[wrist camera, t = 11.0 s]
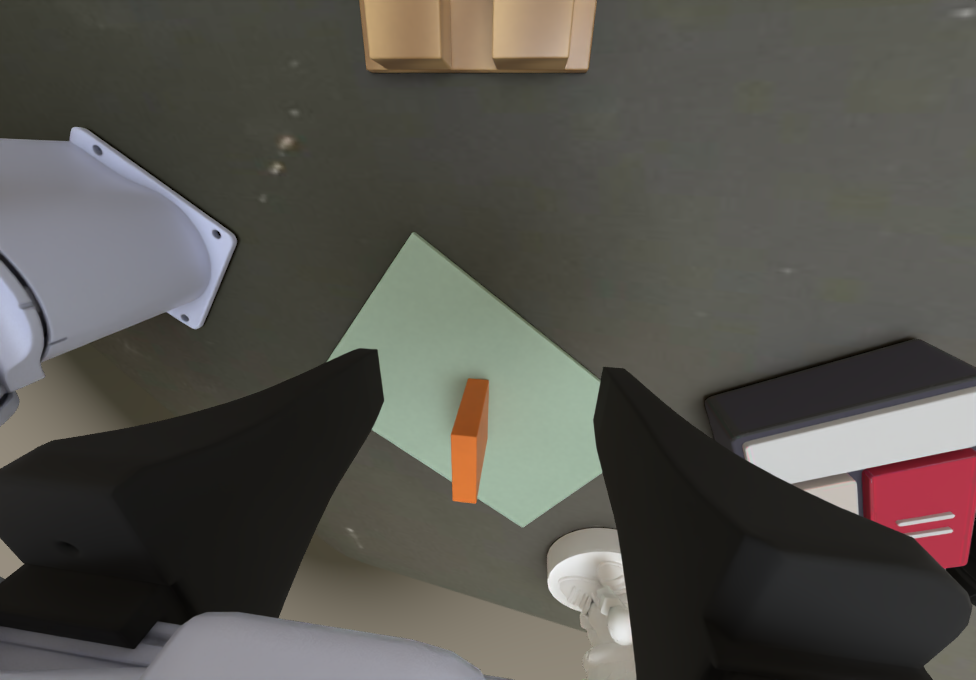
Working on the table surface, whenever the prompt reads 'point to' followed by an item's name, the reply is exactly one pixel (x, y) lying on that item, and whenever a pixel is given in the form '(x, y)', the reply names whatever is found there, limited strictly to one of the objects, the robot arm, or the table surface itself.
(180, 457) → the robot arm
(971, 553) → the tape measure
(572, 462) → the mat
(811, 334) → the table surface
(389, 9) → the holder
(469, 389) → the block
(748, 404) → the calculator
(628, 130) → the table surface
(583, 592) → the character figurine
